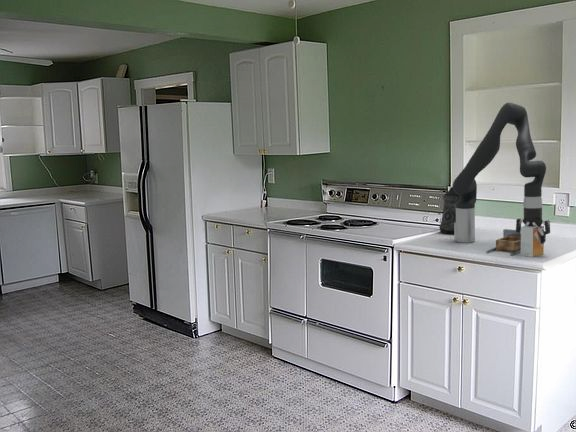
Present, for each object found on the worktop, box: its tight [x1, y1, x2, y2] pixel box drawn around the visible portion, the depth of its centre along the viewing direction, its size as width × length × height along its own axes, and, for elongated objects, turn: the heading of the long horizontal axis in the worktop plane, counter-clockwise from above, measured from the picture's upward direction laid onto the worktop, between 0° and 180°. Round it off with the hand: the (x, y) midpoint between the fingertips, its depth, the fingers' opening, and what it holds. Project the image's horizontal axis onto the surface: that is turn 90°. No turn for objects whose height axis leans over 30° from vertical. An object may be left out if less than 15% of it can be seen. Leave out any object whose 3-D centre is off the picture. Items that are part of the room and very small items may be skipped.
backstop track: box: [485, 228, 521, 257], centre depth 272 cm, size 14×21×8 cm, turn 135°
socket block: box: [495, 236, 521, 253], centre depth 274 cm, size 10×12×5 cm
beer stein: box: [438, 186, 460, 236], centre depth 323 cm, size 16×19×25 cm
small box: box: [520, 225, 545, 258], centre depth 260 cm, size 8×6×13 cm
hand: (532, 242), depth 260 cm, fingers open, 8 cm apart
